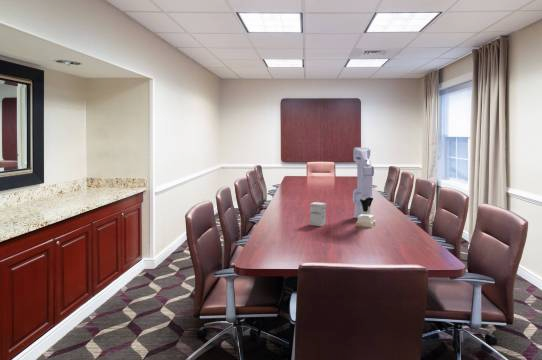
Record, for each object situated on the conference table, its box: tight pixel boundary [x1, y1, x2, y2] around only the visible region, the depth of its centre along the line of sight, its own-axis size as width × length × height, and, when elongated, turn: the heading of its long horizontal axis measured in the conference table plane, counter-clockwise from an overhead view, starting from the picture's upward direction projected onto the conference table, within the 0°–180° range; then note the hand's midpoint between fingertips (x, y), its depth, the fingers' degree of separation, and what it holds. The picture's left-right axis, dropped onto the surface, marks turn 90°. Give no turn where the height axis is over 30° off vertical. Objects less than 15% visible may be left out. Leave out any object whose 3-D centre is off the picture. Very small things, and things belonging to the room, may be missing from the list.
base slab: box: [355, 219, 377, 229], centre depth 224 cm, size 9×9×3 cm
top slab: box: [357, 214, 375, 223], centre depth 224 cm, size 8×8×3 cm
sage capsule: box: [362, 206, 372, 215], centre depth 224 cm, size 4×4×4 cm
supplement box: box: [309, 201, 327, 227], centre depth 225 cm, size 7×7×13 cm
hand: (366, 210), depth 224 cm, fingers closed on sage capsule, 4 cm apart
